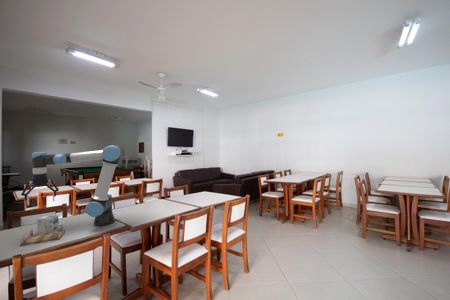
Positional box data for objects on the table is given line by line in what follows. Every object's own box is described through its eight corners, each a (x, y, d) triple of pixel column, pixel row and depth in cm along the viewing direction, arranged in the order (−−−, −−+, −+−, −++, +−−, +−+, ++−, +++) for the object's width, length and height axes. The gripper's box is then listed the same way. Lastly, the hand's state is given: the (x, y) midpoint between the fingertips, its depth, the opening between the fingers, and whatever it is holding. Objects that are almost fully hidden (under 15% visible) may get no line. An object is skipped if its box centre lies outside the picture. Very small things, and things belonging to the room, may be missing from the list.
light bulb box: (59, 228, 157) (59, 214, 157) (53, 232, 150) (53, 217, 150) (43, 230, 155) (43, 215, 155) (36, 233, 148) (36, 218, 148)
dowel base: (64, 231, 152) (64, 224, 152) (59, 239, 138) (59, 231, 138) (28, 237, 142) (28, 229, 142) (19, 246, 129) (19, 237, 129)
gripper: (61, 171, 159) (63, 198, 159) (15, 175, 142) (17, 205, 143) (62, 172, 153) (63, 200, 153) (14, 176, 137) (16, 207, 137)
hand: (41, 202), depth 148 cm, fingers open, 13 cm apart
